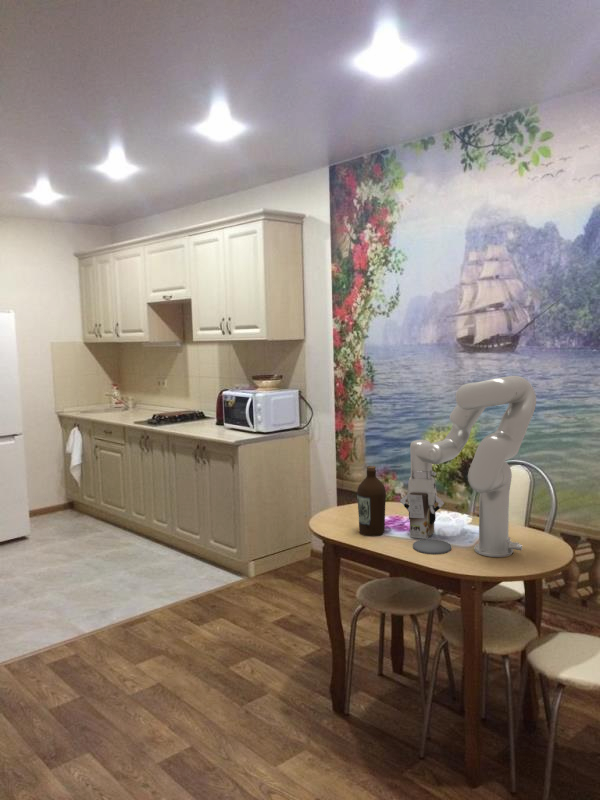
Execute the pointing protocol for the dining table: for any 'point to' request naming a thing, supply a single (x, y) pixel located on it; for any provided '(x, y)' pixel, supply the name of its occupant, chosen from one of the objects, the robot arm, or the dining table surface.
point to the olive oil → (371, 504)
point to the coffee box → (420, 516)
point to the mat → (432, 546)
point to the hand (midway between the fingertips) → (422, 522)
